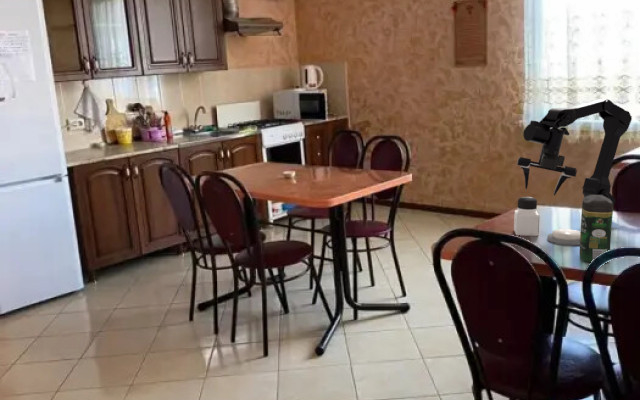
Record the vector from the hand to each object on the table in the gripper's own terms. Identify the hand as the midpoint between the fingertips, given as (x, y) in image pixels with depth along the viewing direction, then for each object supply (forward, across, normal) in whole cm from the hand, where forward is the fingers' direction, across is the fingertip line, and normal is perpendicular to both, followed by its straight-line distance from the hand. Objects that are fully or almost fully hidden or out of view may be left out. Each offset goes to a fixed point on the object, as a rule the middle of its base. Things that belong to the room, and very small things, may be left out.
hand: (540, 191), depth 209 cm
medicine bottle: (+14, -1, -3) cm, 15 cm away
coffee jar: (+15, +17, -29) cm, 36 cm away
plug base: (+13, +11, -10) cm, 19 cm away
